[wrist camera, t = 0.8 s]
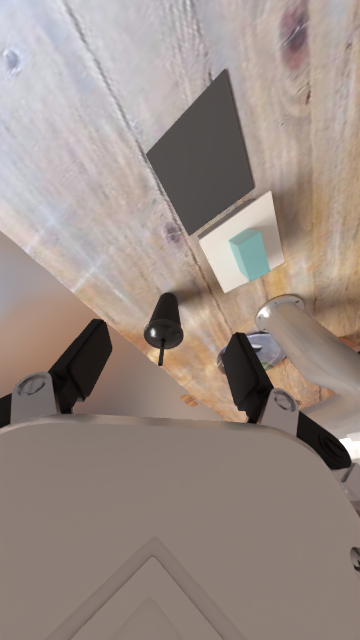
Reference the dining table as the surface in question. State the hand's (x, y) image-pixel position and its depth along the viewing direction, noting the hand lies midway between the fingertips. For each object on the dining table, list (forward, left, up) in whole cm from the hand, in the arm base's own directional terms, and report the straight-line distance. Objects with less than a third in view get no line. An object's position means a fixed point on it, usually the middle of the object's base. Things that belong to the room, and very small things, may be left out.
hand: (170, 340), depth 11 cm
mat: (+8, -11, -26) cm, 29 cm away
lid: (-4, -11, -20) cm, 23 cm away
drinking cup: (-8, +8, -26) cm, 28 cm away
